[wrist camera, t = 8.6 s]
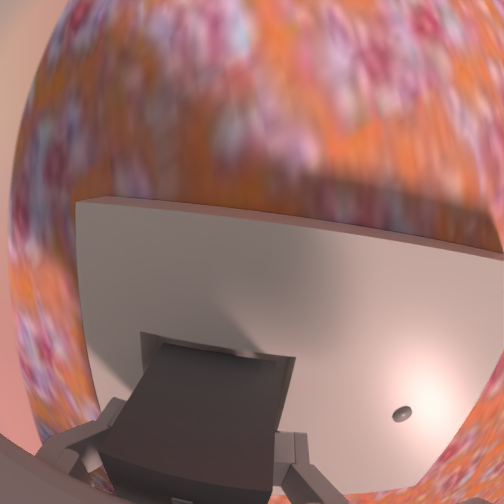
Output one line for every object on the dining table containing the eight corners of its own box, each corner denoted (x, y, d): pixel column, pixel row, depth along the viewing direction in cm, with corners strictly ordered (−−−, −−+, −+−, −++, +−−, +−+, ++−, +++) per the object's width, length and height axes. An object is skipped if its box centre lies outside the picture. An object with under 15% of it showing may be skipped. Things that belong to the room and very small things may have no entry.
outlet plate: (406, 462, 16) (414, 486, 13) (129, 437, 16) (116, 462, 14) (504, 254, 11) (533, 268, 9) (106, 195, 12) (74, 201, 10)
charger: (260, 433, 13) (250, 541, 7) (167, 416, 13) (126, 514, 7) (276, 361, 11) (272, 493, 5) (163, 342, 12) (96, 452, 6)
